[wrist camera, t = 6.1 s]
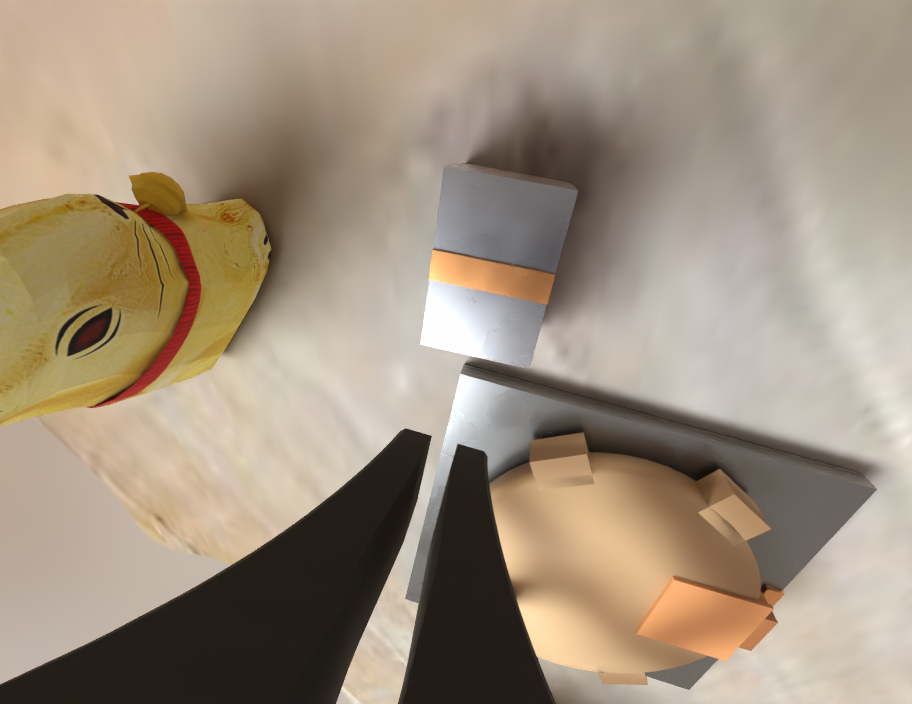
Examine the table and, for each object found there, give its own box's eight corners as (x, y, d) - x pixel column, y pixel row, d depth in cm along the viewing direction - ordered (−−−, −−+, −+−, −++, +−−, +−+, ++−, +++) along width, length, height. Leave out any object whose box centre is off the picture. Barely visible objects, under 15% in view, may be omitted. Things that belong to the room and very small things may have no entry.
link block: (466, 162, 16) (443, 165, 12) (570, 181, 15) (578, 190, 12) (443, 307, 19) (419, 345, 15) (531, 327, 18) (529, 370, 15)
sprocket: (619, 374, 17) (651, 464, 12) (840, 582, 19) (941, 728, 14) (392, 542, 24) (354, 642, 19) (575, 679, 26) (582, 800, 21)
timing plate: (860, 472, 18) (880, 492, 17) (684, 671, 26) (690, 693, 25) (464, 363, 19) (459, 376, 18) (409, 584, 27) (404, 601, 26)
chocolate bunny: (321, 223, 18) (-324, 432, 5) (224, 379, 23) (-227, 703, 9) (186, 108, 17) (-1163, -59, 4) (114, 297, 22) (-568, 529, 8)
